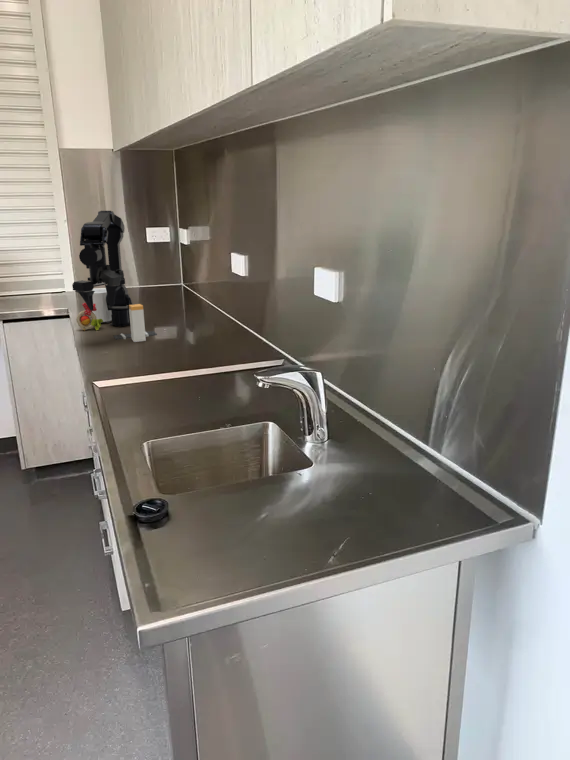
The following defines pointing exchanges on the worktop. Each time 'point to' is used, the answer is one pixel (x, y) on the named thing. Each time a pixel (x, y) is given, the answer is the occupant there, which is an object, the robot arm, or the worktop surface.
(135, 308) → the orange-topped grey block
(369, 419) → the worktop surface
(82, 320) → the bird rattle
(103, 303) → the cup
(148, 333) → the cord bundle
